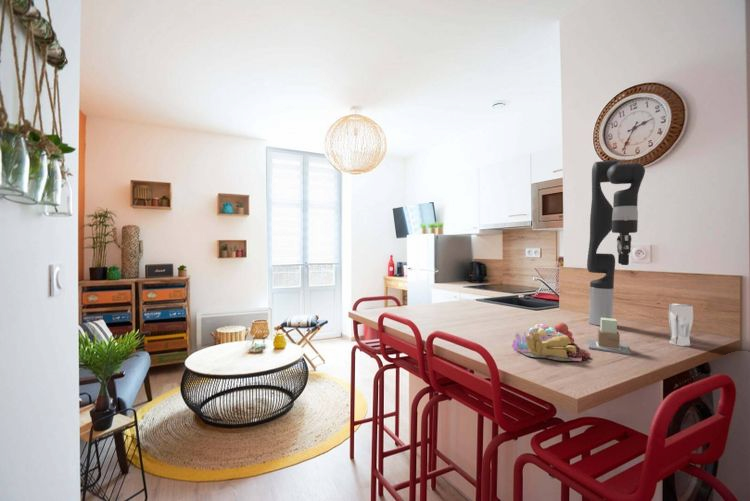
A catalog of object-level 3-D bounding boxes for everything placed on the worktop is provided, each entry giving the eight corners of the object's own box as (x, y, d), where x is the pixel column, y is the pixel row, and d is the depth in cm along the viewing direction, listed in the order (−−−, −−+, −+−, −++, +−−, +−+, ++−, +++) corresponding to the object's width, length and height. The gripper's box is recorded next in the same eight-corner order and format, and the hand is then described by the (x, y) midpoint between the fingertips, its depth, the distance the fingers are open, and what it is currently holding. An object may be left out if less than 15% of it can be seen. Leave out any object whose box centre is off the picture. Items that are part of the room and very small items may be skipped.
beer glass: (693, 347, 126) (694, 307, 125) (668, 344, 130) (669, 304, 129) (690, 343, 131) (692, 304, 131) (666, 340, 135) (668, 302, 135)
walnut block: (597, 342, 129) (598, 328, 128) (617, 344, 126) (617, 331, 125) (598, 346, 123) (599, 332, 123) (619, 348, 120) (619, 334, 120)
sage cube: (600, 329, 127) (600, 317, 127) (615, 331, 125) (615, 318, 125) (601, 332, 123) (601, 319, 123) (616, 333, 121) (617, 321, 121)
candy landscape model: (602, 366, 105) (603, 336, 105) (520, 361, 109) (521, 332, 109) (570, 343, 130) (570, 319, 129) (504, 339, 134) (505, 315, 133)
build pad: (587, 340, 133) (587, 339, 133) (626, 345, 127) (626, 344, 127) (588, 348, 122) (589, 346, 122) (630, 354, 116) (630, 352, 116)
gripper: (610, 221, 132) (609, 263, 132) (613, 218, 120) (612, 264, 120) (634, 220, 128) (633, 264, 129) (640, 217, 116) (639, 265, 116)
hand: (623, 264), depth 124 cm, fingers open, 8 cm apart
